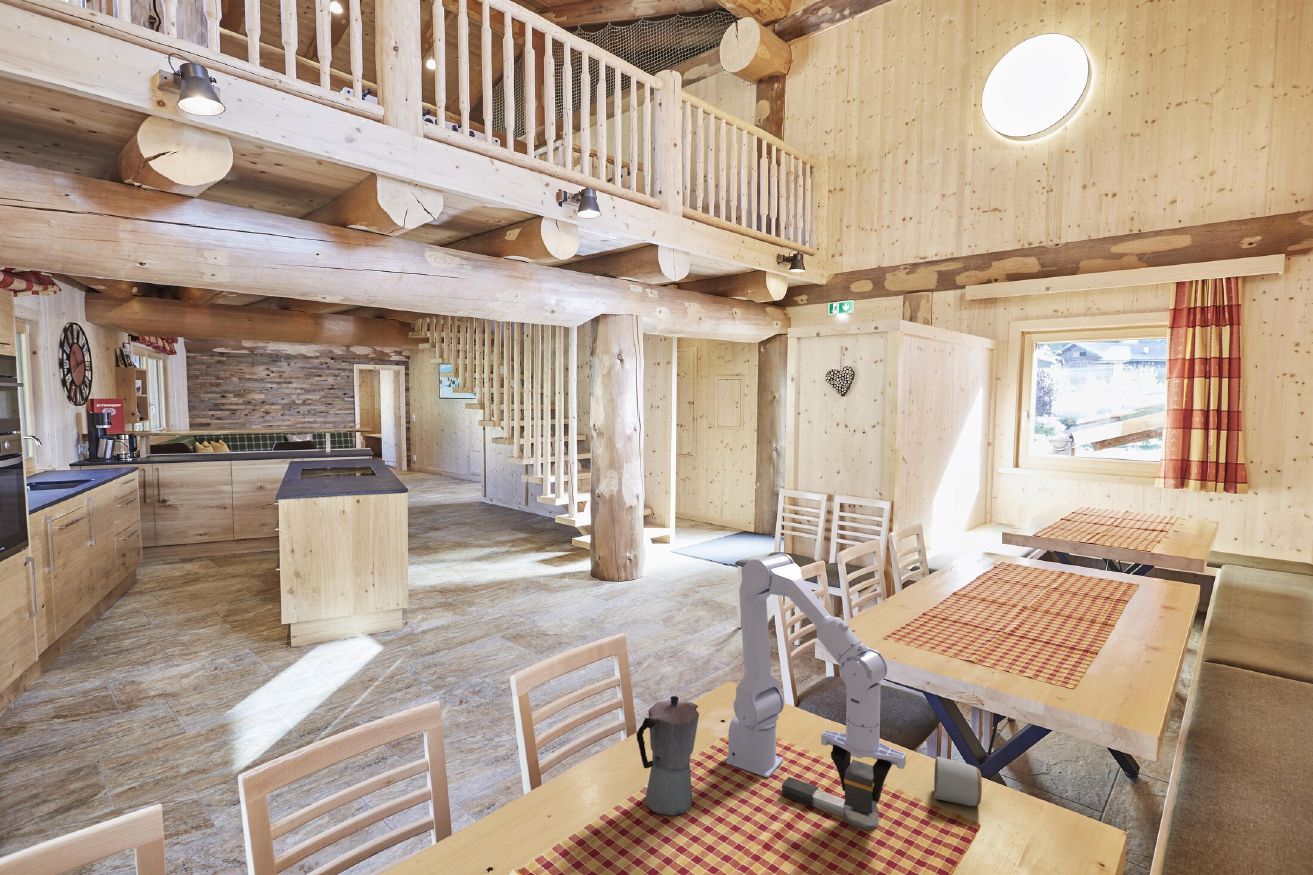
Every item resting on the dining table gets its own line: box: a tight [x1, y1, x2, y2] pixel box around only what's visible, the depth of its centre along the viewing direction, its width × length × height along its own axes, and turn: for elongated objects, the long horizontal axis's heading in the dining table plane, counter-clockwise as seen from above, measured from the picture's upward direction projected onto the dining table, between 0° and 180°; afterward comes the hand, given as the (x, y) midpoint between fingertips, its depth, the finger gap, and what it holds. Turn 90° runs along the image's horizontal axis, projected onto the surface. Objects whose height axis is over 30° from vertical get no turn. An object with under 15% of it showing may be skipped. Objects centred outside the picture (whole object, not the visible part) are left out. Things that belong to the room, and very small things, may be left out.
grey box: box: [844, 759, 879, 814], centre depth 115 cm, size 5×5×6 cm
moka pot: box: [635, 695, 700, 816], centre depth 118 cm, size 10×15×20 cm, turn 137°
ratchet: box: [781, 776, 880, 831], centre depth 118 cm, size 18×6×5 cm, turn 56°
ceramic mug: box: [933, 756, 983, 807], centre depth 122 cm, size 10×8×7 cm
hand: (861, 793), depth 115 cm, fingers closed on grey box, 5 cm apart
